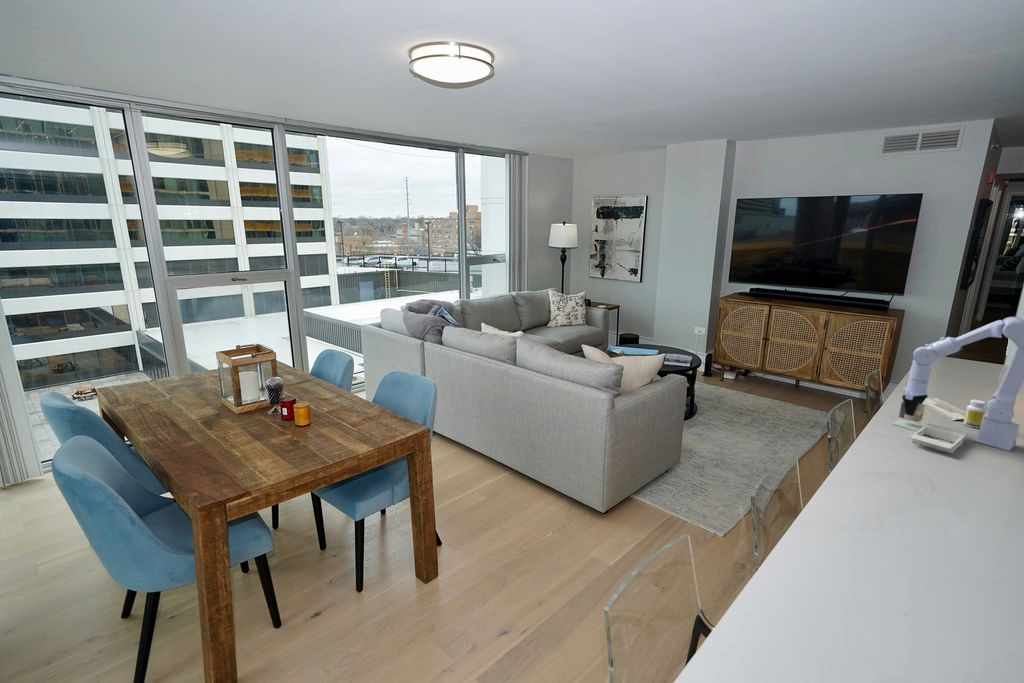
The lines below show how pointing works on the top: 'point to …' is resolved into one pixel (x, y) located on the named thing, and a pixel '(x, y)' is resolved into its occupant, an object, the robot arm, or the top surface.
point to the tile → (908, 425)
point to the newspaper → (944, 408)
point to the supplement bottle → (974, 413)
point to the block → (917, 414)
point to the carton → (940, 433)
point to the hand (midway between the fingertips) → (911, 413)
